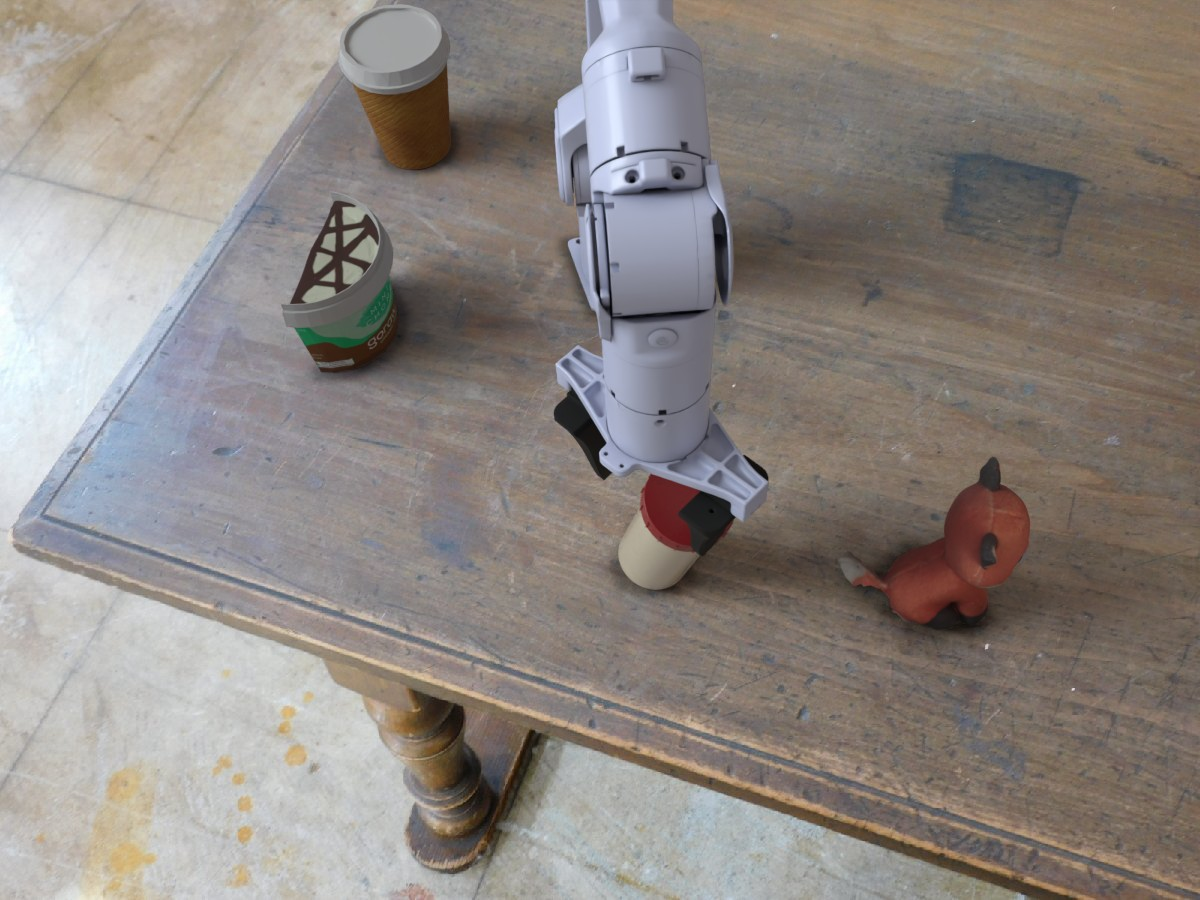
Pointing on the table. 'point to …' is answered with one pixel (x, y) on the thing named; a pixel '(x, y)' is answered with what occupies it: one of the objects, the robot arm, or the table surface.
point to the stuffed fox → (956, 558)
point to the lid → (668, 512)
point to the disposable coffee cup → (401, 81)
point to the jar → (651, 557)
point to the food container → (346, 290)
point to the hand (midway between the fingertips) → (657, 504)
